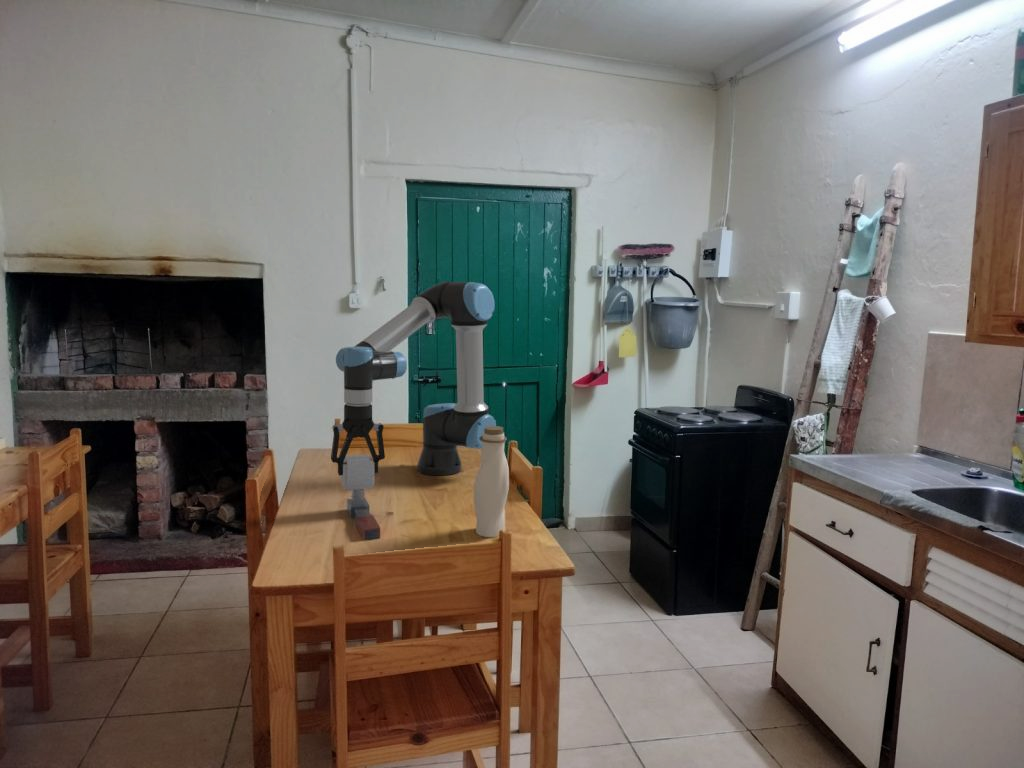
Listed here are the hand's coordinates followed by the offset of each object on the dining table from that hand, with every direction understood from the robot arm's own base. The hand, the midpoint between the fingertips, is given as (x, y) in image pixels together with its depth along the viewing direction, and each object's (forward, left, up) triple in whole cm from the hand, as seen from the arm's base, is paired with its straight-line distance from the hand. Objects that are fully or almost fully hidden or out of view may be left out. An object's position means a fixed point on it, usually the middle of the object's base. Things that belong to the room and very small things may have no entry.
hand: (358, 484), depth 188 cm
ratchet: (0, +9, -8) cm, 12 cm away
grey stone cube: (0, 0, 0) cm, 0 cm away
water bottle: (-30, +24, -8) cm, 40 cm away
